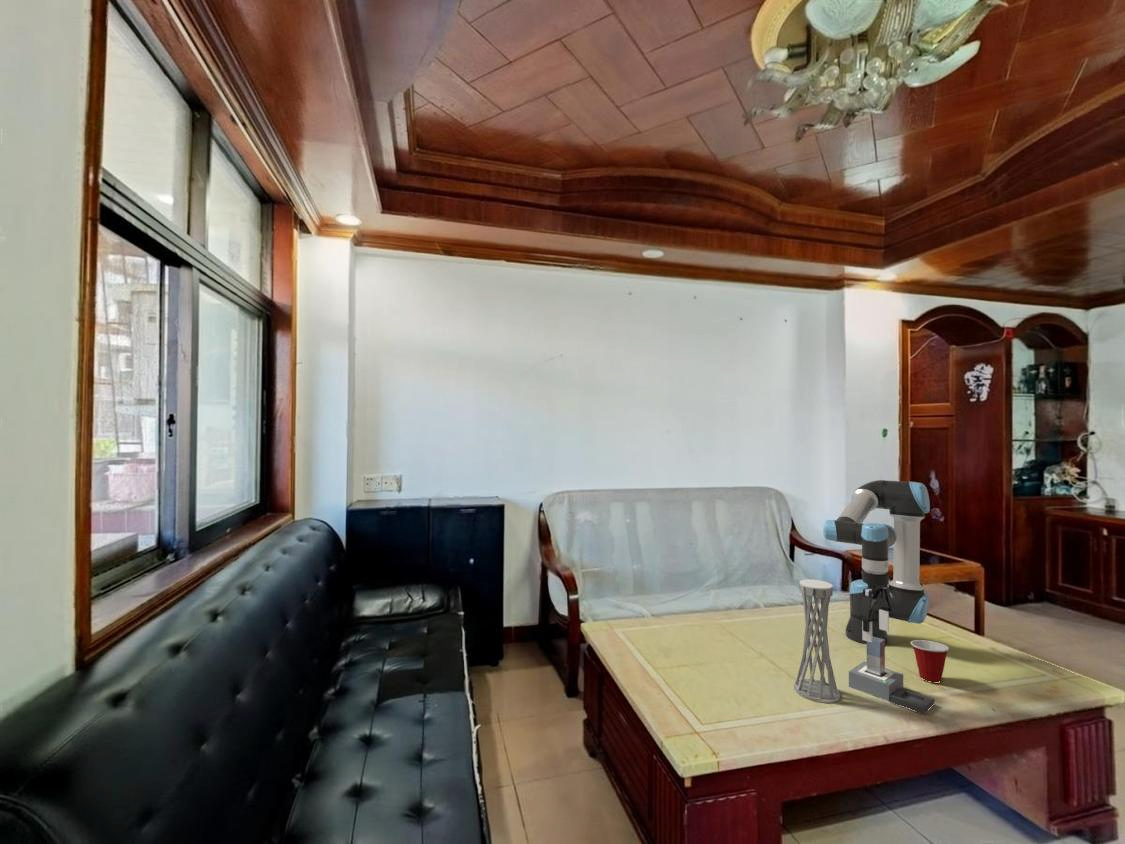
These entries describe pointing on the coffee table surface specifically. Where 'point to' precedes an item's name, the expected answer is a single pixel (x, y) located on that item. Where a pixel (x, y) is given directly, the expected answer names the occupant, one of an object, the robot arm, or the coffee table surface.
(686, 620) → the coffee table surface
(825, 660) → the grey tall lattice tower
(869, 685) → the port
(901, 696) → the dark grey slot tray
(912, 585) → the robot arm
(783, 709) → the coffee table surface
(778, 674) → the coffee table surface
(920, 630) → the coffee table surface
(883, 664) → the plug
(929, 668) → the plastic cup
